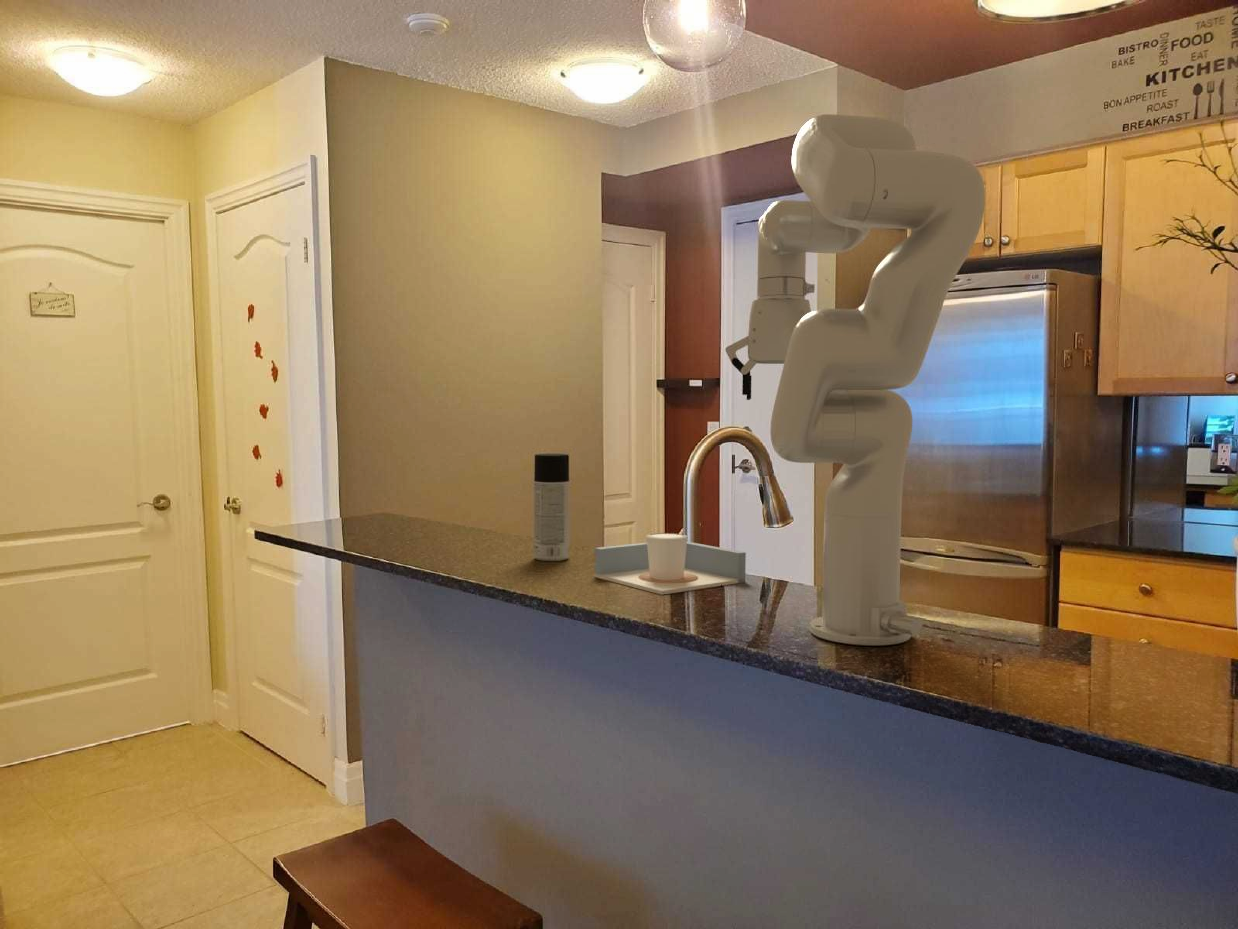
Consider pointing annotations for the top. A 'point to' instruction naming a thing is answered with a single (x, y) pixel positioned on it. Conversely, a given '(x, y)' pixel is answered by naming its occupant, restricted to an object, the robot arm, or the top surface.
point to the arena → (699, 572)
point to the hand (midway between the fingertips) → (779, 399)
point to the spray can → (551, 507)
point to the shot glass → (666, 555)
